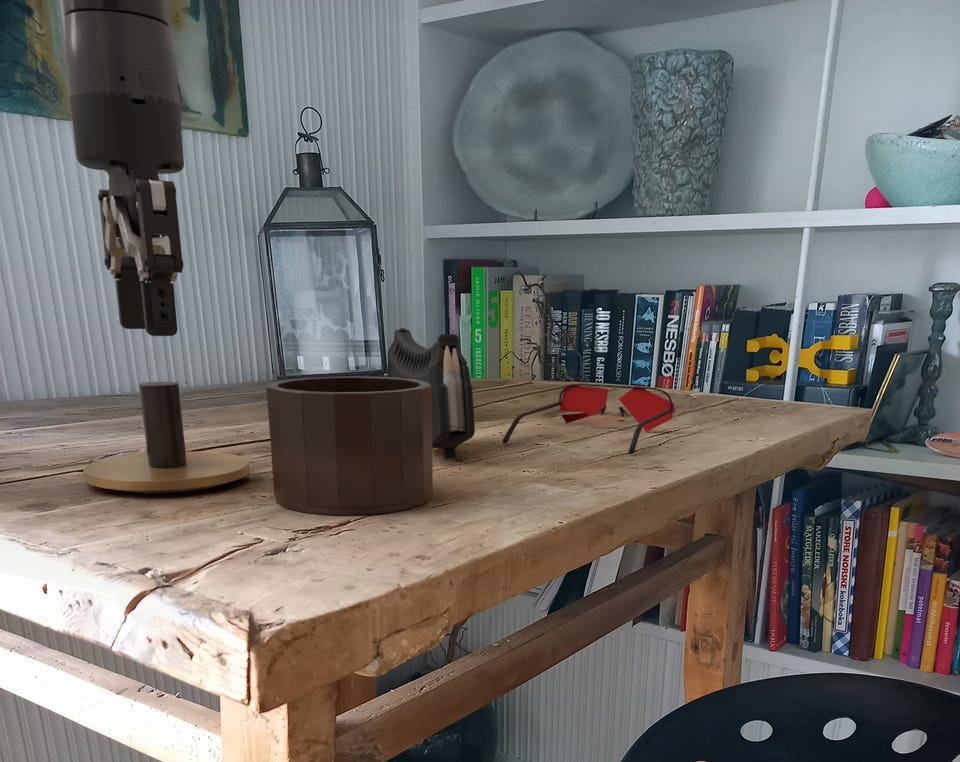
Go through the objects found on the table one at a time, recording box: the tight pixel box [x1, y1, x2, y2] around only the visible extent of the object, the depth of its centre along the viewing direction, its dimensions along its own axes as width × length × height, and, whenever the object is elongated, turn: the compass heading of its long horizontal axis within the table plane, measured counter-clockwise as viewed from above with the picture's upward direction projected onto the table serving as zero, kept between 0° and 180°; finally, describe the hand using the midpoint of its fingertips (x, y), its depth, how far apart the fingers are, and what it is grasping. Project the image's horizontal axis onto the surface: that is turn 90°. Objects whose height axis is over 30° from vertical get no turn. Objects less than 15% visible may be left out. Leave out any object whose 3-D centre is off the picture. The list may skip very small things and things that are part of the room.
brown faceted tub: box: [266, 375, 434, 516], centre depth 71 cm, size 12×12×8 cm
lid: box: [82, 381, 251, 494], centre depth 76 cm, size 13×13×8 cm
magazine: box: [386, 327, 476, 460], centre depth 97 cm, size 17×3×30 cm
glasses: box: [501, 383, 677, 455], centre depth 99 cm, size 14×16×5 cm
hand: (148, 332), depth 73 cm, fingers open, 8 cm apart
